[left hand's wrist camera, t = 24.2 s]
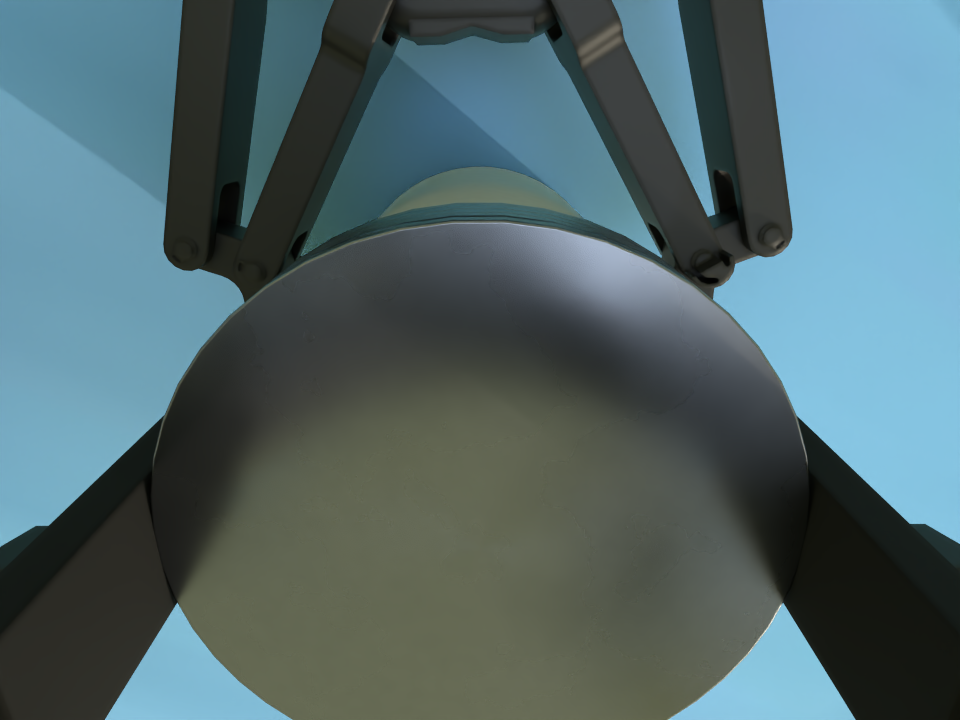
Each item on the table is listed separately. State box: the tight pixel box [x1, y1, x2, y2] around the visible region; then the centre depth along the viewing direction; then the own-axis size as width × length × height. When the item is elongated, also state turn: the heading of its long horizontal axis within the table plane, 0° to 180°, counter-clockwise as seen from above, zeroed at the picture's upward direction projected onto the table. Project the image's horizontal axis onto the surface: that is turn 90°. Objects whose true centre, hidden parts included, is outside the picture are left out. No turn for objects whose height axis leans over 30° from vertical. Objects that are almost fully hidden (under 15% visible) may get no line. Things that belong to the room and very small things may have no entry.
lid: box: [151, 203, 810, 720], centre depth 11 cm, size 11×11×2 cm
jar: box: [377, 167, 583, 219], centre depth 18 cm, size 10×10×15 cm
